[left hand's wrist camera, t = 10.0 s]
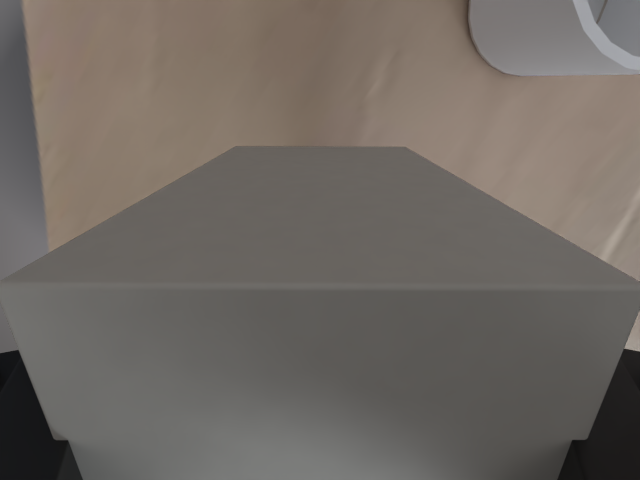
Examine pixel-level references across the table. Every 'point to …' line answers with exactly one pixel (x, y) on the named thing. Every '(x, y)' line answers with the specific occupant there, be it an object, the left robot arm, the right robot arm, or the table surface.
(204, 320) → the box
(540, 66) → the mug
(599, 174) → the table surface
